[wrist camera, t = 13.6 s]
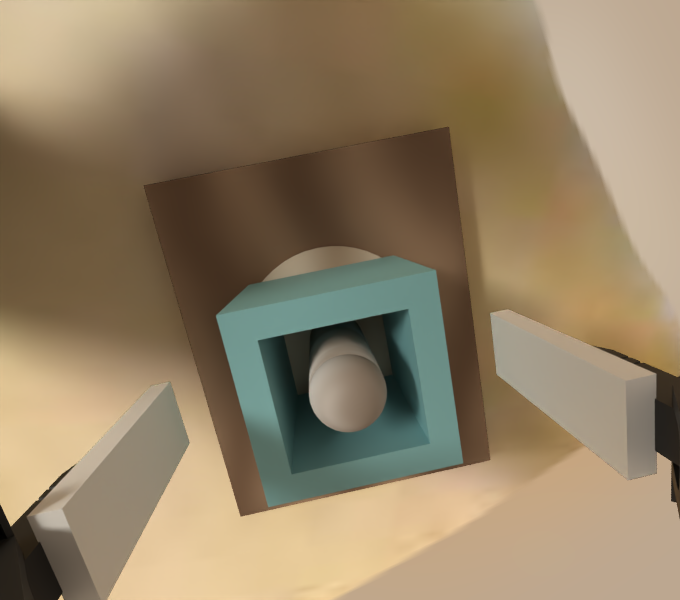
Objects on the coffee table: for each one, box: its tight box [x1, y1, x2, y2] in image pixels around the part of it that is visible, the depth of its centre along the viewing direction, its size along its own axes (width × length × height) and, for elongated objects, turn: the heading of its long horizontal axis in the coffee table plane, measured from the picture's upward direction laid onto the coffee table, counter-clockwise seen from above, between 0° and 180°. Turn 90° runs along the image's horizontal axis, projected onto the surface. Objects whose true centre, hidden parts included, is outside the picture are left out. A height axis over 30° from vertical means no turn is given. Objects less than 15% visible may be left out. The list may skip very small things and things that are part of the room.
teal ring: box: [216, 255, 463, 507], centre depth 17 cm, size 8×8×7 cm
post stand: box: [144, 127, 490, 516], centre depth 18 cm, size 16×20×10 cm
